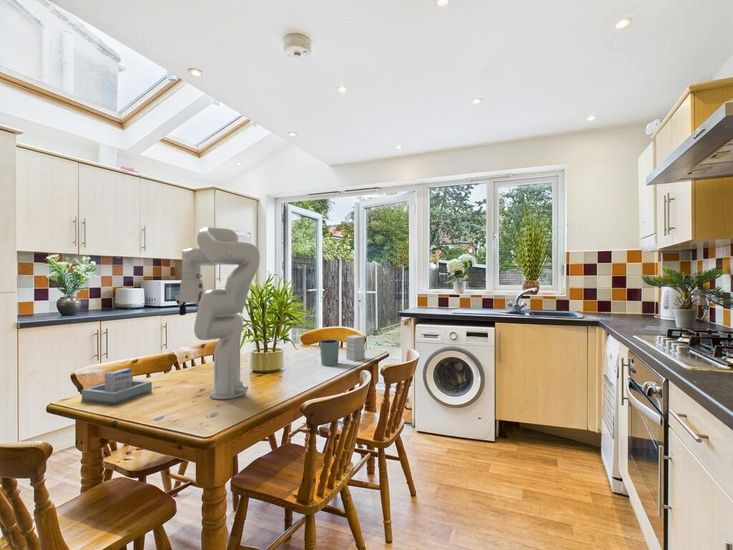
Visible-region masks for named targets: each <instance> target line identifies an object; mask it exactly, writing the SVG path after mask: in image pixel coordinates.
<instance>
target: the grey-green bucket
mask: <svg viewBox="0 0 733 550" xmlns="http://www.w3.org/2000/svg"><path fill="white" fill-rule="evenodd" d="M339 349H340V340H339V339H321V340H320V341H319V350H320V351H319V352H320V359H321V360H320V361H321V363H320V364H321V366H323V365H324V367H334V366H333V365H335V366H338V365H339V353H340V352H339ZM337 364H338V365H337Z"/></svg>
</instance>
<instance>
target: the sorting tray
mask: <svg viewBox="0 0 733 550" xmlns="http://www.w3.org/2000/svg"><path fill="white" fill-rule="evenodd" d="M131 382H132V387H130V388H127V389H124V390H120V391H117V392H109V391H105V382H104V383H100V384H97V385H93V386H91V387H87V388H84V389H81V401H82V402H88V401H89V403H96V404H104V405H111V406H116V405H118V404H122V403H125V402H127V401H129V400H133V399H135V398H139V397H141V396H145V395H148V394H150V393H152V392H153V390H152V389H153V388H152V387H153V385H152V384H153V382H152V381H145V380H136V379H131Z"/></svg>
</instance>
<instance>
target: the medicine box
mask: <svg viewBox="0 0 733 550" xmlns="http://www.w3.org/2000/svg"><path fill="white" fill-rule="evenodd" d="M131 380H132V369H130V368H121V369H117V370H114V371H109V372H107V373H104V383H105V391H109V392H117V391H120V390H124V389H127V388H130V387H132V382H131Z"/></svg>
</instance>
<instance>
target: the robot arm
mask: <svg viewBox="0 0 733 550" xmlns="http://www.w3.org/2000/svg"><path fill="white" fill-rule="evenodd" d="M196 237H197V238H196V241H197V245H198V247H190V248H187V249H183V251H182V252H181V272H182V273H181V281H180V285H179V286H180V287H179V293H178V294H177V295H175V296H174V299H175V301H176V302H175V303H176V304H177V305H178V307H179V316H186V314H187V306H186V304H187V303H190V304H191V303H196V305H197V308H196V309H197V311H196V316H195V321H194V325H193V326H194V327H193V332H194V333H193V334H194V335H195V337H196V338H197V339H198V340H200V341H211V340H218V341H217V343H216V344H215V347H214V350H213V384H214V385H213V390H211V392H209V397H210V398H212V399H214V400H231V399H235V398H238V397H242V395H244V394H246V393H247V392H248V390H249V386H247V385H243V381H241V338H242V332H243V327H244V323H243V317H242V316H240V314H238V313H242V311H243V310H244V308H245V305H246V302H247V299H248V295H249V292H250V289H251V284H252V282H253V279H254V278H255V276H256V273H257V272H258V269H259V266H260V262H261V256H260V250H259V248H258V247H257V246H256V245H254V244H252V243H249V242H243V241H239V237H238V235H237V233H236V232H235V231H233V230H232V229H229V228H222V227H211V226H210V227H209V226H207V227H203V228H201V229H200V230H199V232H198V233H197V236H196ZM217 265H222V266H224V265H232V266H233V265H234V266H237V267H236V268H235V269H233V270H232V272H230V274H229V275H228V277H227V279H226V282H225V286H224V287H223V288H220V289H219V288H218V289H216V288H215V289H208V290H206V291H205V288H204V287H205V286H204V282H203V280H201V278H202V277H203V275H202V273H201V271H202V270H201V267H202V266H208V267H210V266H211V267H212V266H217Z"/></svg>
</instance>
